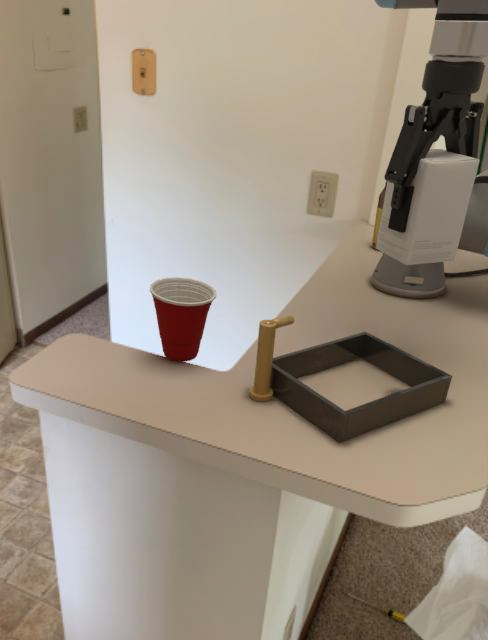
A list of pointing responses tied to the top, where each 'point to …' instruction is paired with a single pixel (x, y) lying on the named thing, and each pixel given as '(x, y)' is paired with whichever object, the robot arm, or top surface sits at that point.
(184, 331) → the plastic cup
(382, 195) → the sauce bottle
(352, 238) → the top surface
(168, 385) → the top surface
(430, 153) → the rectangular carton
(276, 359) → the sink
